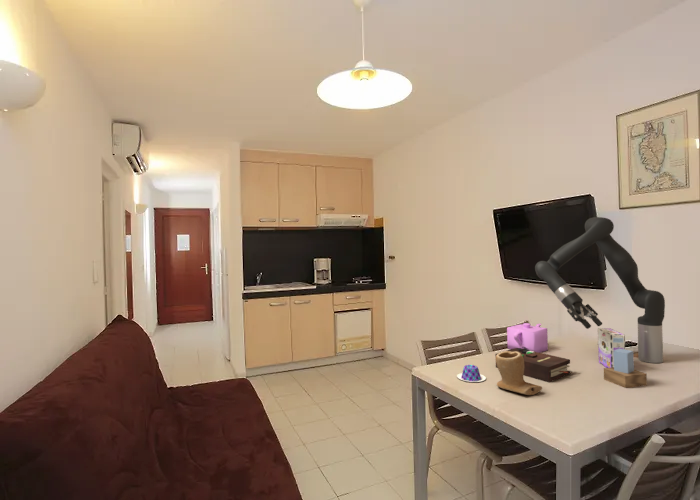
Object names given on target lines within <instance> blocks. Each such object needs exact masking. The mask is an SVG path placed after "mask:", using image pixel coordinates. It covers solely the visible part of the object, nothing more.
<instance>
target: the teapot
mask: <svg viewBox="0 0 700 500" xmlns="http://www.w3.org/2000/svg"><path fill="white" fill-rule="evenodd" d="M548 335H549V334H548V328H547V327H542V323H537V324H535V326H534V325H531V323H528V322H523V323H522V324H515V325H512V326H507V327H506V336H507V337H506V338H507V341H506V342H507V344H506V346H507V350H511V349H514V348H522V347H526V348H528V350H530V351H534V352H539V353H544V352H546V351H548V350H549V343H548V337H549V336H548ZM522 349H523V348H522Z"/></svg>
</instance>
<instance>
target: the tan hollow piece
mask: <svg viewBox="0 0 700 500" xmlns="http://www.w3.org/2000/svg"><path fill="white" fill-rule="evenodd" d="M497 353H498V354H497ZM497 353H496V354H497V355H496V357H495V359H494V360H495V365H496V364H497V367H498V368H497V369H498V372H499V374H500V376H501V380H499V381H497V382H496V386H497V387H498V388H501V389H503V390H506V391H511V392H514V393H517V394H521V395H527V396H533V395H537V394H538V393H539V392H541V391H542V389H543V387H542V385H539V384H538V385H537V384H533V383H530V382H527V381H526V380H525V378H524V375H523V374H524V358H523V356H522V355H521V354H520V353H519V352H517V351H514V352H510V351H507V350H505V351H501V353H500V352H497Z"/></svg>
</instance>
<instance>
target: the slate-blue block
mask: <svg viewBox="0 0 700 500" xmlns="http://www.w3.org/2000/svg"><path fill="white" fill-rule="evenodd" d="M613 354H614V370H615V371H619V372H623V373H631V372H633V371H634V370H635V361H634V358H635V357H634V356H635V355H634V351H633V350H630V349H626V348H625V349H617V350H614V351H613Z"/></svg>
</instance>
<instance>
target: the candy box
mask: <svg viewBox="0 0 700 500" xmlns="http://www.w3.org/2000/svg"><path fill="white" fill-rule="evenodd" d="M597 344H598V346H597V349H598V363H599V364H600V365H602V366H604V367H605V368H611V367H614V354H613V351H614V350H617V349H625V350H626V335H625V334H624V333H622V332H619V331H617V330H615V329H613V328H610V327H609V328H608V327H607V328H606V327H597Z"/></svg>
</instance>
